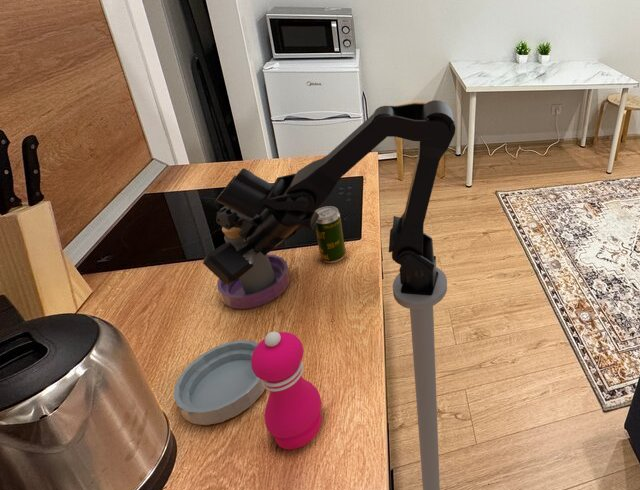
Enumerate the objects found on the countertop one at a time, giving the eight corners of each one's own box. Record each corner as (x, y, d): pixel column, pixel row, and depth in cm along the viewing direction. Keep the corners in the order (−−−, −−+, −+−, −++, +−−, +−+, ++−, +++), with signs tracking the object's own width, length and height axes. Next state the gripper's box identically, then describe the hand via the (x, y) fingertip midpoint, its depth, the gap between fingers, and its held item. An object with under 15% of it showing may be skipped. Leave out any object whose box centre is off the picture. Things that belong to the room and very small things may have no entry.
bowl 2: (286, 357, 72) (282, 343, 70) (242, 430, 61) (236, 416, 59) (216, 351, 72) (211, 337, 70) (160, 423, 61) (152, 408, 59)
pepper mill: (266, 422, 62) (232, 329, 53) (316, 394, 66) (293, 303, 57) (278, 465, 57) (244, 370, 48) (332, 432, 61) (310, 339, 52)
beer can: (336, 245, 98) (329, 202, 93) (351, 255, 95) (344, 211, 90) (315, 257, 94) (307, 213, 89) (330, 267, 91) (322, 223, 86)
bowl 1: (301, 269, 91) (298, 256, 89) (269, 313, 80) (265, 299, 78) (246, 264, 91) (242, 252, 89) (207, 308, 80) (202, 294, 78)
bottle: (274, 290, 83) (250, 229, 76) (241, 299, 81) (214, 237, 75) (278, 272, 88) (256, 213, 81) (247, 279, 86) (222, 219, 80)
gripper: (285, 166, 81) (252, 201, 89) (194, 218, 65) (164, 256, 73) (325, 208, 83) (290, 239, 90) (247, 269, 67) (212, 301, 74)
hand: (243, 256), depth 82 cm, fingers closed on bottle, 6 cm apart
